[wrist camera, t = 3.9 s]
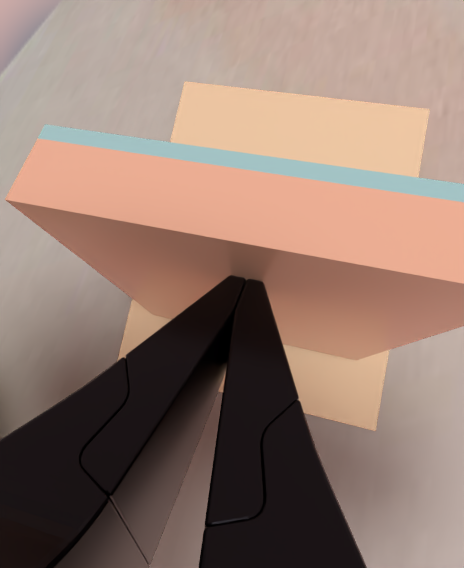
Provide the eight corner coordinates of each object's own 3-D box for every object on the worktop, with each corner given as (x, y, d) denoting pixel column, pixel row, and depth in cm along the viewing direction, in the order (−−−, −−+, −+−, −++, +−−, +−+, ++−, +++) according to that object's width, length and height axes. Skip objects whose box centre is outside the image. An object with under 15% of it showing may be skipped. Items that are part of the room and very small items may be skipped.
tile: (356, 360, 14) (547, 298, 5) (153, 314, 16) (4, 199, 6) (360, 318, 15) (538, 193, 6) (165, 277, 16) (45, 123, 7)
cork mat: (373, 428, 15) (375, 431, 14) (118, 364, 17) (115, 365, 16) (426, 113, 16) (429, 109, 16) (186, 85, 18) (184, 81, 18)
